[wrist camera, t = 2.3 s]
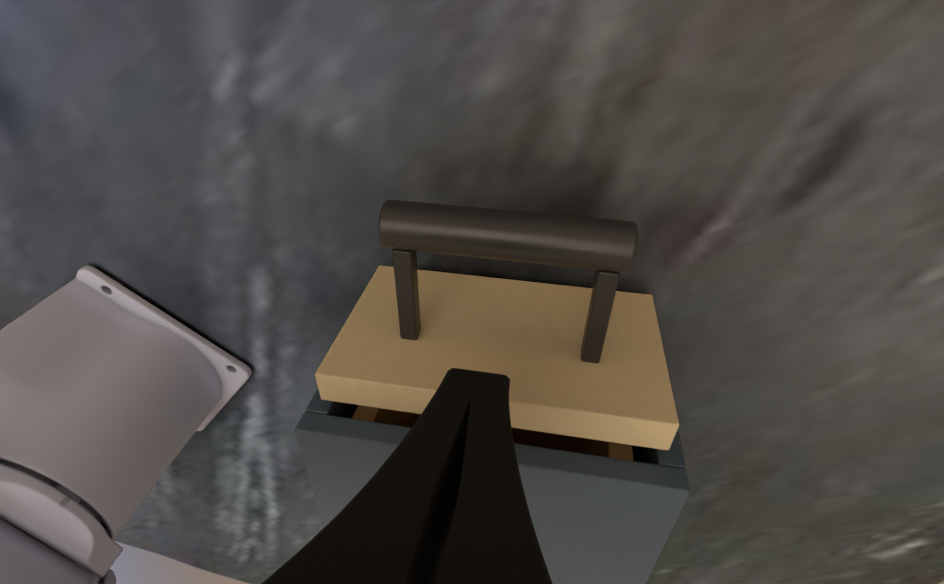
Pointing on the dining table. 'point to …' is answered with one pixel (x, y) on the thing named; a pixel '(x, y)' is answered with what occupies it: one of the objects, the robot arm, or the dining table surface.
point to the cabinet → (527, 493)
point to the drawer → (509, 330)
